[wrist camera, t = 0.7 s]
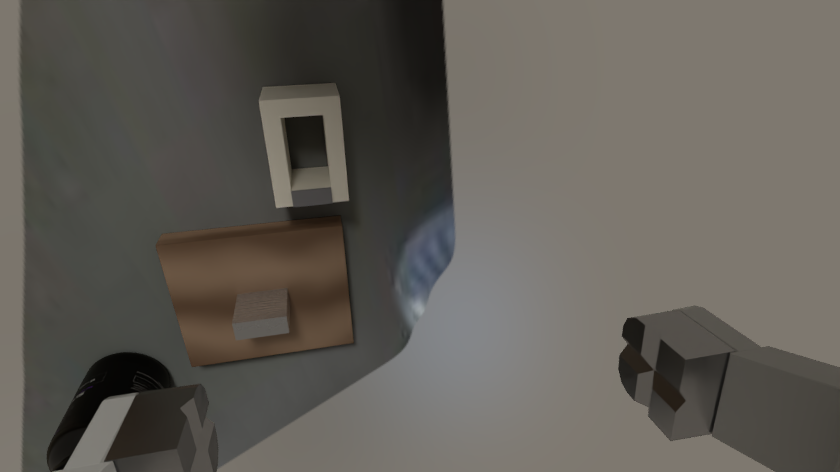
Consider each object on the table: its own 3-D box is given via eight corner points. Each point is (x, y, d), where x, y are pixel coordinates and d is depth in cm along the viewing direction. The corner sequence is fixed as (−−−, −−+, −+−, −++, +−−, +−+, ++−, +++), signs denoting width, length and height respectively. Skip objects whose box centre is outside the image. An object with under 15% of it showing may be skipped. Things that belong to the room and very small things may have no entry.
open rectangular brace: (262, 86, 36) (258, 101, 32) (335, 82, 37) (339, 96, 33) (278, 184, 40) (276, 209, 36) (344, 178, 41) (349, 201, 37)
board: (161, 233, 40) (155, 245, 38) (340, 215, 42) (342, 225, 41) (195, 351, 45) (191, 367, 44) (351, 329, 48) (353, 342, 46)
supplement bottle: (78, 352, 43) (9, 473, 33) (166, 346, 44) (125, 460, 34) (95, 411, 46) (37, 539, 36) (176, 403, 48) (143, 524, 37)
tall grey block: (237, 294, 41) (232, 323, 38) (287, 287, 42) (286, 316, 39) (241, 310, 42) (235, 340, 39) (290, 303, 43) (289, 332, 39)
